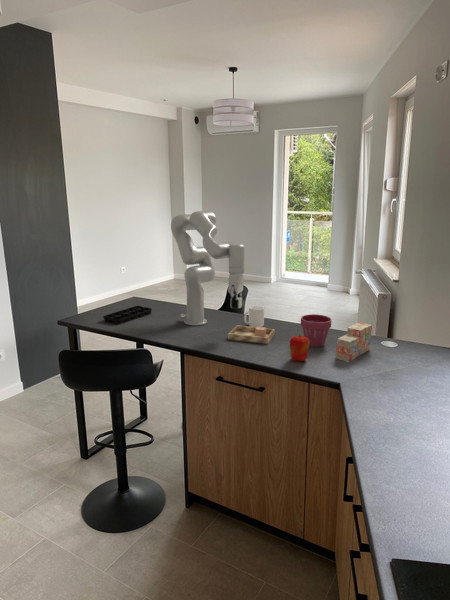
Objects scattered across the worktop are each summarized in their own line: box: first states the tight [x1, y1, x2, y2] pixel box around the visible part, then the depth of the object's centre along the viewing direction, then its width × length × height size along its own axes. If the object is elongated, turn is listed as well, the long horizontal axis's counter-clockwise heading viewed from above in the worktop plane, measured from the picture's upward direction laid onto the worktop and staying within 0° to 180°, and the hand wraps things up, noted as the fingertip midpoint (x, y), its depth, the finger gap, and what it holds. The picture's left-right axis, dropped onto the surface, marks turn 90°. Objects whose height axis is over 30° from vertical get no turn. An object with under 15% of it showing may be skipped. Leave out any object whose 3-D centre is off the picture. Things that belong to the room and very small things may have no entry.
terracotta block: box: [255, 326, 267, 337], centre depth 211 cm, size 4×4×4 cm
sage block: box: [230, 297, 243, 309], centre depth 209 cm, size 4×4×4 cm
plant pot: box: [300, 313, 332, 348], centre depth 203 cm, size 14×14×13 cm
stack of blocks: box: [335, 322, 373, 363], centre depth 190 cm, size 21×6×12 cm, turn 138°
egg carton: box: [102, 305, 152, 325], centre depth 245 cm, size 18×30×4 cm, turn 161°
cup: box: [243, 305, 265, 327], centre depth 231 cm, size 8×12×10 cm
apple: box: [289, 333, 310, 362], centre depth 182 cm, size 9×8×12 cm
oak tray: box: [227, 325, 276, 345], centre depth 213 cm, size 20×15×3 cm
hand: (236, 306), depth 210 cm, fingers closed on sage block, 4 cm apart
